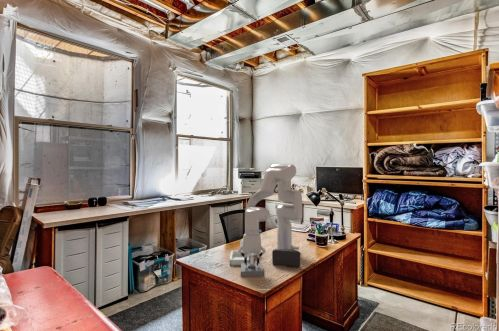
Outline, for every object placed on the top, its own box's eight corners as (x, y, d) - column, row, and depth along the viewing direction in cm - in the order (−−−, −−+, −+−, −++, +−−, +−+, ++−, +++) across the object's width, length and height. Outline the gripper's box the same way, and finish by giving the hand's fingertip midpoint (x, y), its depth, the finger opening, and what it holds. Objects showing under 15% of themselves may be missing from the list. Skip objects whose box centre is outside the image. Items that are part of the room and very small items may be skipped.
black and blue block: (300, 265, 164) (300, 249, 164) (300, 268, 160) (300, 251, 160) (273, 262, 168) (273, 247, 168) (272, 265, 163) (272, 249, 163)
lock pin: (254, 270, 155) (254, 254, 155) (254, 272, 152) (254, 256, 152) (249, 270, 155) (249, 254, 155) (249, 272, 152) (249, 256, 152)
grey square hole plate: (262, 268, 160) (262, 263, 160) (263, 277, 148) (263, 271, 148) (241, 268, 160) (241, 262, 160) (240, 277, 148) (240, 271, 148)
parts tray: (253, 256, 179) (253, 250, 179) (253, 266, 163) (253, 259, 163) (231, 256, 179) (231, 250, 179) (229, 266, 163) (229, 259, 163)
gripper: (267, 230, 157) (267, 262, 157) (236, 230, 157) (236, 262, 157) (267, 234, 149) (267, 267, 150) (235, 233, 149) (235, 267, 150)
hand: (251, 264), depth 154 cm, fingers open, 5 cm apart
